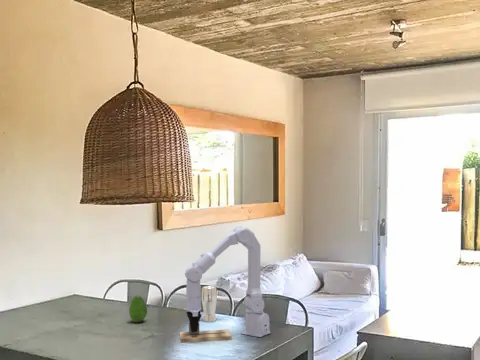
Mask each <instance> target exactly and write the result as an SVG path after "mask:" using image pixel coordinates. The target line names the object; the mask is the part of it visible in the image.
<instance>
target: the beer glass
mask: <svg viewBox="0 0 480 360" xmlns="http://www.w3.org/2000/svg"><path fill="white" fill-rule="evenodd" d="M217 300H218V292H217V286H215V285H206V286H201V306H202V309H203V310H202V311H203V314H202V315H203V316H202V321H203V322H205V323H213V322H216V321H217V318H216V307H217V302H218V301H217Z"/></svg>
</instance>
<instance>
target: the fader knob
mask: <svg viewBox="0 0 480 360" xmlns="http://www.w3.org/2000/svg"><path fill="white" fill-rule="evenodd" d="M199 331H200V323H199V324H198V329H197V332H192V331H191V326H190V322H189V323H188V332H189V335H192V334H199Z"/></svg>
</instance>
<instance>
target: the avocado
mask: <svg viewBox="0 0 480 360" xmlns="http://www.w3.org/2000/svg"><path fill="white" fill-rule="evenodd" d="M147 307H148V306H147V305H146V302H145V299H144V298H143V297H142V296H140V295H139V294H137V295H134V296H133V298H132V299H131V302H130V306H129V310H128V311H129V318H130V319H131V321H132V322H134V323H141V322H142V321H144V320H145V318H146V317H147V314H148V308H147Z"/></svg>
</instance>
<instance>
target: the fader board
mask: <svg viewBox="0 0 480 360" xmlns="http://www.w3.org/2000/svg"><path fill="white" fill-rule="evenodd" d="M178 335H179V339H180V343H181V344H182V343H194V342H195V343H198V342H212V341H213V342H214V341H215V340H217V341H228V340H229V341H232V340H233V336H232V333H231V332H230V331H229V329H214V330H211V329H210V330H199V334H192V335H189V331H180V332H179V334H178Z"/></svg>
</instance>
